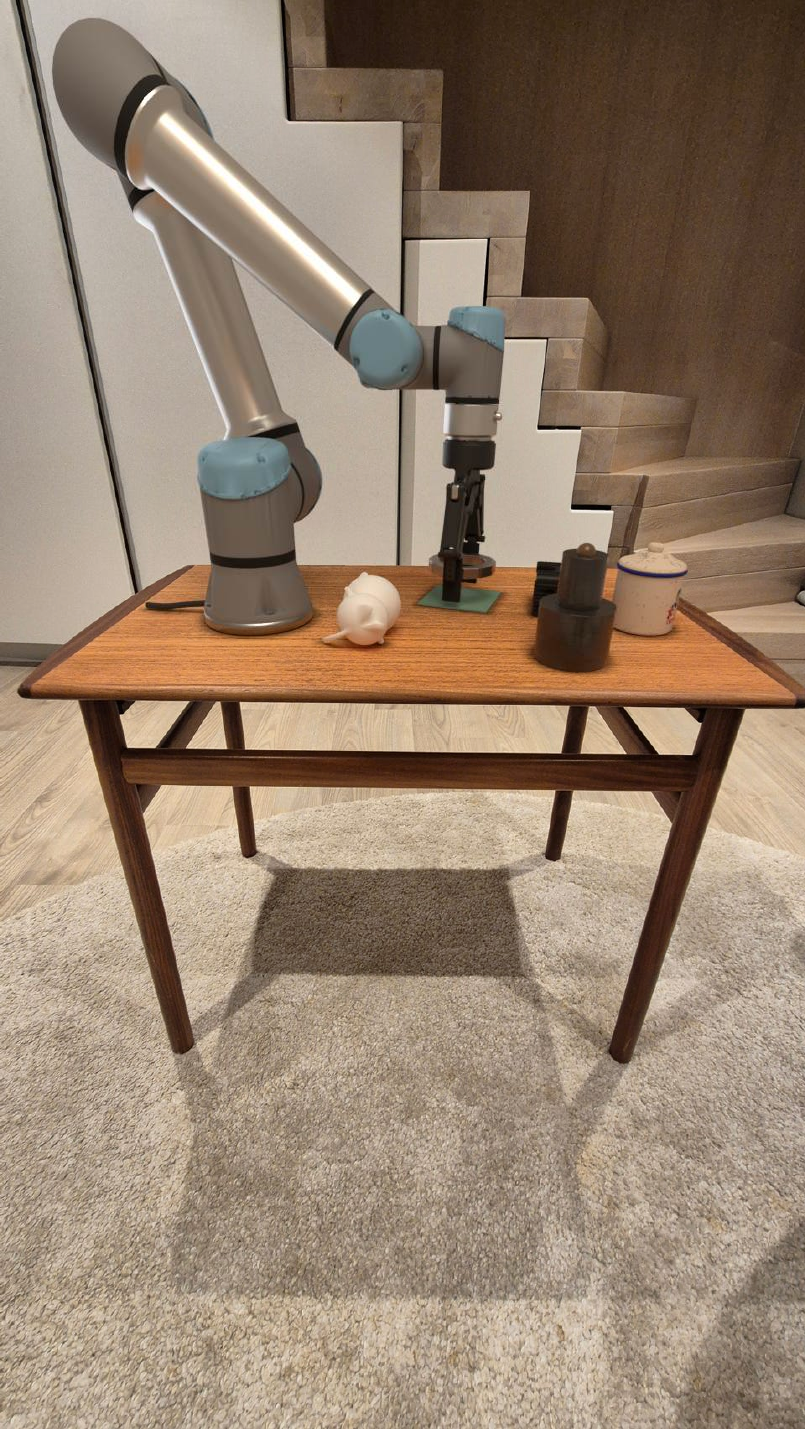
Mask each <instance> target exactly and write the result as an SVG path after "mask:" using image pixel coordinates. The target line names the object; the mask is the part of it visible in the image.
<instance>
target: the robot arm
mask: <svg viewBox="0 0 805 1429" xmlns="http://www.w3.org/2000/svg"><path fill="white" fill-rule="evenodd" d="M51 62H52V64H51V78H52V87H53V91H54V95H55V99H56V103H57V106H58V108H59V111H60V113H61V116H62V118H63V119H64V121H65V123H66V125H67V127H68V129H69V130H70V131H71V133H72V134H73V136H74V137H75V139H76V140H77V141H78V142H79V144H80V145H81V146H82V147H83V148H84V149H85V150H86V151H87V152H89V154H91V155H92V156H93V157H95V158H96V159H97V160H98V161H100V162H101V163H103V164H104V165H106V166H107V167H109V168H110V169H112V170H114V171H115V172H116V174H117V176H118V179H119V182H120V184H121V187H122V190H123V191H124V194H125V197H126V199H127V202H128V205H129V207H130V210H131V213H132V215H133V217H134V219H135V221H136V222H137V223H138V224H139V225H141V226H143V227H144V228H146V229H147V230H149V231H151V233H152V234H153V236H154V240H155V242H156V245H157V247H158V250H159V253H160V256H161V258H162V260H163V264H164V266H165V268H166V271H167V274H168V277H169V280H170V282H171V284H172V287H173V289H174V292H175V294H176V298H177V301H178V302H179V305H180V308H181V311H182V314H183V317H184V319H185V322H186V324H187V326H188V330H189V332H190V335H191V337H192V340H193V343H194V345H195V348H196V350H197V353H198V356H199V358H200V361H201V363H202V364H201V365H202V366H203V370H204V372H205V374H206V376H207V380H208V383H209V385H210V388H211V391H212V393H213V395H214V398H215V401H216V404H217V406H218V409H219V411H220V414H221V417H222V420H223V422H224V425H225V427H226V432H225V434H224V437H223V439H219V440H215V441H212V442H210V443H207V444H206V445H204V446H202V447H201V448H200V449H199V451H198V453H197V455H196V456H197V457H196V465H197V474H196V479H197V484H198V486H199V493H200V500H201V506H202V513H203V520H204V526H205V531H206V532H205V533H206V539H207V548H208V552H209V561H210V573H209V577H208V583H207V588H206V595H205V599H200V600H185V601H175V602H153V601H146V602H145V603H144V604H145V605H144V606H145V608H146V609H152V610H178V609H186V608H187V609H188V608H200V607H201V608H203V616H204V621H205V624H206V625H207V627H209V628H211V629H212V630H215V631H218V632H220V633H225V634H229V635H230V634H231V635H240V636H261V635H270V634H277V633H278V634H279V633H283V632H287V631H291V630H294V629H297V628H299V627H302V626H304V625H305V624H307V623H308V622H310V620H312V618H313V615H314V611H313V610H314V608H313V603H312V599H311V596H310V594H309V591H308V589H307V586H306V583H305V580H304V577H303V573H301V571H300V568H299V565H298V563H297V553H296V552H297V551H296V550H297V549H296V538H295V537H296V536H295V524H296V523H299V522H300V521H302V520H304V519H305V518H306V517H308V516H309V515H310V514H311V513H312V512H313V510H314V508H315V507H316V505H317V503H318V502H319V499H320V497H321V494H322V490H323V473H322V470H321V466H320V464H319V461H318V460H317V458H316V456H315V455H314V453H312V452H311V450H310V449H309V448H307V447H306V443H305V441H304V438H303V435H302V433H301V430H300V427H299V424H298V421H297V419H295V418H293V417H292V416H290V415H289V414H287V413H286V412H285V411H284V410H283V407H282V404H281V401H280V399H279V396H278V393H277V389H276V387H275V383H274V380H273V378H272V375H271V372H270V369H269V366H268V362H267V359H266V356H265V353H264V350H263V349H262V344H261V342H260V339H259V336H258V333H257V330H256V327H255V324H254V321H253V318H252V314H251V312H250V309H249V306H248V303H247V300H246V297H245V294H244V292H243V288H242V285H241V282H240V279H239V276H238V273H237V271H236V267H235V263H237V265H239V266H240V267H241V268H242V269H244V270H245V271H246V273H248V274H249V275H250V276H251V277H252V278H253V279H255V281H256V282H258V283H259V284H260V285H261V286H263V288H265V289H266V290H267V292H269V293H270V294H272V295H273V297H274V298H276V299H277V300H278V301H279V302H281V304H283V305H284V306H285V307H286V308H287V309H288V310H290V312H291V313H293V314H294V315H295V317H297V318H299V319H300V320H301V321H302V322H303V323H304V324H305V325H307V327H309V328H310V329H311V330H312V331H313V332H314V333H315V334H317V335H318V336H319V338H321V339H322V340H323V341H325V343H326V344H328V345H329V346H330V347H331V348H332V349H333V350H334V351H336V352H337V353H338V355H340V357H342V358H343V359H344V360H345V362H347V363H348V364H350V365H351V367H353V369H354V370H355V371H356V373H357V377H358V379H359V383H360V384H361V386H362V387H364V388H365V389H375V390H378V391H393V390H396V391H397V390H398V391H399V390H400V391H401V390H402V391H403V390H404V391H405V390H406V391H409V390H410V391H412V390H413V391H415V390H421V391H422V390H423V391H425V390H426V391H427V390H430V391H431V390H434V391H440V390H441V391H444V392H445V393H444V394H445V397H444V412H443V414H444V415H443V430H442V432H443V434H444V436H447V437H446V439H444V441H443V442H442V461H441V463H442V464H441V465H442V466H443V467H444V468H446V469H448V470H454V476H453V481H451V482H450V483H447V484H446V486H445V492H446V493H445V494H446V495H445V506H444V515H443V524H442V531H441V540H440V547H439V551H438V552H437V554H438V558H444V565H443V577H442V584H441V585H442V601H450V602H458V603H459V602H460V596H461V587H462V583H466V584H474V585H476V584H477V583H478V579H462V566H473V565H464V564H463V558H461V553H463V552H466V553H476V554H480V544H481V543H485V542H486V535H484V533H485V530H484V521H485V520H484V519H485V511H484V509H485V484H486V483H485V482H486V474H483V473H481V471H488V470H492V469H493V468H494V466H495V461H496V447H497V443H496V441H495V440H492V438H493V437H495V436H497V434H498V421H502V420H503V414H502V412H499V406H500V398H501V388H502V379H503V378H502V377H503V369H504V368H503V367H504V356H505V337H506V316H505V315H504V313H503V311H502V310H501V309H499V308H497V307H494V306H486V305H483V306H482V305H468V306H457V307H453V308H452V309H450V311H449V313H448V314H449V315H448V319H447V322H446V324H442V325H414V324H412V323H411V321H409V320H408V319H407V318H406V317H405V316H404V315H403V314H401V312H398V311H397V310H396V309H395V308H394V307H393V306H392V305H391V304H389V302H387V301H386V299H384V298H383V297H382V295H380V294H378V293H377V292H376V291H375V290H374V289H373V288H372V287H371V286H370V285H369V284H368V283H367V282H366V281H365V280H364V279H363V278H362V277H361V276H360V275H359V274H358V273H356V272H355V270H353V269H352V268H351V267H350V266H349V265H348V264H347V263H346V262H345V261H344V260H343V259H342V258H340V257H339V256H338V254H336V253H335V252H334V251H333V250H332V249H331V248H330V247H329V246H327V244H325V243H324V241H322V240H321V239H320V238H319V237H318V236H317V235H316V234H315V233H314V232H313V231H312V230H311V229H309V227H307V226H306V225H305V224H304V223H303V222H302V221H301V220H300V219H299V218H298V217H297V216H296V215H295V214H294V213H293V212H292V211H290V210H289V209H288V207H286V206H285V205H284V204H283V203H282V202H280V200H278V198H276V197H275V196H274V195H273V194H272V193H271V192H270V191H269V190H268V189H266V187H265V186H263V184H262V183H260V182H259V181H258V180H257V178H255V177H254V176H253V175H252V174H251V173H250V172H248V170H247V169H245V168H244V167H243V166H242V165H241V164H240V163H239V162H238V161H237V160H236V159H235V158H234V157H232V156H231V154H229V153H228V152H227V151H226V150H225V149H224V148H223V147H222V146H221V145H220V144H219V143H218V142H217V141H216V140H215V138H214V134H213V131H212V129H211V126H210V123H209V121H208V119H207V117H206V115H205V113H204V111H203V109H202V108H201V107H200V106H199V104H198V102H197V100H196V98H195V97H194V96H193V94H192V93H191V92H190V91H189V89H188V88H187V87H186V86H185V84H183V83H182V82H181V81H180V80H179V79H178V78H176V77H175V76H173V75H172V74H170V73H169V71H168V70H166V68H165V67H164V66H163V65H162V64H161V63H160V62H159V61H158V60H157V59H156V58H155V56H153V55H152V54H151V52H150V51H148V50H147V49H146V48H145V46H144V45H143V44H142V43H141V42H140V41H139V40H138V39H137V38H136V37H135V36H134V35H133V34H131V33H130V32H129V31H127V30H126V29H125V28H123V27H122V26H120V25H119V24H116V23H115V22H113V21H111V20H107V19H105V18H102V17H86V18H82V19H78V20H76V21H75V22H73V23H71V24H69V25H68V26H67V28H65V30H64V31H63V32H62V33H61V34H60V36H59V37H58V40H57V41H56V44H55V47H54V50H53V55H52V61H51ZM234 262H235V263H234Z"/></svg>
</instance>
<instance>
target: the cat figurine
mask: <svg viewBox="0 0 805 1429" xmlns="http://www.w3.org/2000/svg"><path fill="white" fill-rule="evenodd" d="M401 610H402V601H401V596H400V593H399V591H398V590H397V587H396V586H394V584H393V583H392V582H391V581H389V580H388V579H386V578H384V577H382V576H380V575H377V574H376V575H375V574H368V572H366V571H363V572H361V574H360V575H359V576H358V577H357V578H356V579H354V580H353V581H352V582H351V583H349V585H348V586H345V587H344V593H343V597H342V601H341V602H340V603H339V605H338V608H337V610H336V622H337V626H338V628H339V630H340V631H339V632H337V633H334V634H331V635H327V636H325V637H322V639H321V641H322V642H323V643H324V644H329V643H332V642H335V641H337V640H339V639H341V638H343V637H346V639H348V640H349V641H350V642H352V643H354V644H356V645H358V646H359V645H360V646H369V645H373V644H376V643H378V644H379V645H382V644H384V643H385V639H384V636H385V634H386V633H387V631H388V630H390V629H391V628H392V627H393V626H394V625H395V624H396V623H397V621H398V619H399V617H400V615H401Z"/></svg>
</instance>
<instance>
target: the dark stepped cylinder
mask: <svg viewBox="0 0 805 1429" xmlns="http://www.w3.org/2000/svg"><path fill="white" fill-rule="evenodd" d="M609 559H610V554H609V553H608V552H605V551H602V550H599V549H596V547H595V545H593V544H592V543H590V542H584V543H583V542H582V543H581V544H580V545H579V546H577V548H569V549H565V550H563V551H562V555H561V562H560V563H561V568H560V576H559V583H558V590H557V594H551V595H547V596H544V597H543V598H541V600H540V604H539V612H538V617H537V622H536V628H535V637H534V644H533V651H532V652H533V653H532V655H533V658H534V659H535V660H536V662H538V663H539V664H541V665H543V666H545V667H548V668H550V669H552V670H553V669H554V670H556V671H557V670H558V671H563V672H568V673H589V672H596V671H598V670H601V669H603V668H604V667H606V665H607V664H608V658H609V652H610V647H611V643H612V637H613V632H614V622H615V617H616V611H617V606H616V605H615V604H614V603H613V602H612V600H609V599H607V598H605V597H603V592H604V589H605V583H606V576H607V570H608V564H609Z"/></svg>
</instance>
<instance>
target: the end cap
mask: <svg viewBox="0 0 805 1429" xmlns="http://www.w3.org/2000/svg"><path fill="white" fill-rule="evenodd" d="M560 568H561V562H558V561H543V560H541V561H540V560H538V561H536V569H535V573H536V577H535V579H534V585H533V595H532V606H531V616H532V617H536V618H538V612H539V604H540V600H541V598H543V597H544V596H547V595H551V594H557V590H558V583H559V576H560Z"/></svg>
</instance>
